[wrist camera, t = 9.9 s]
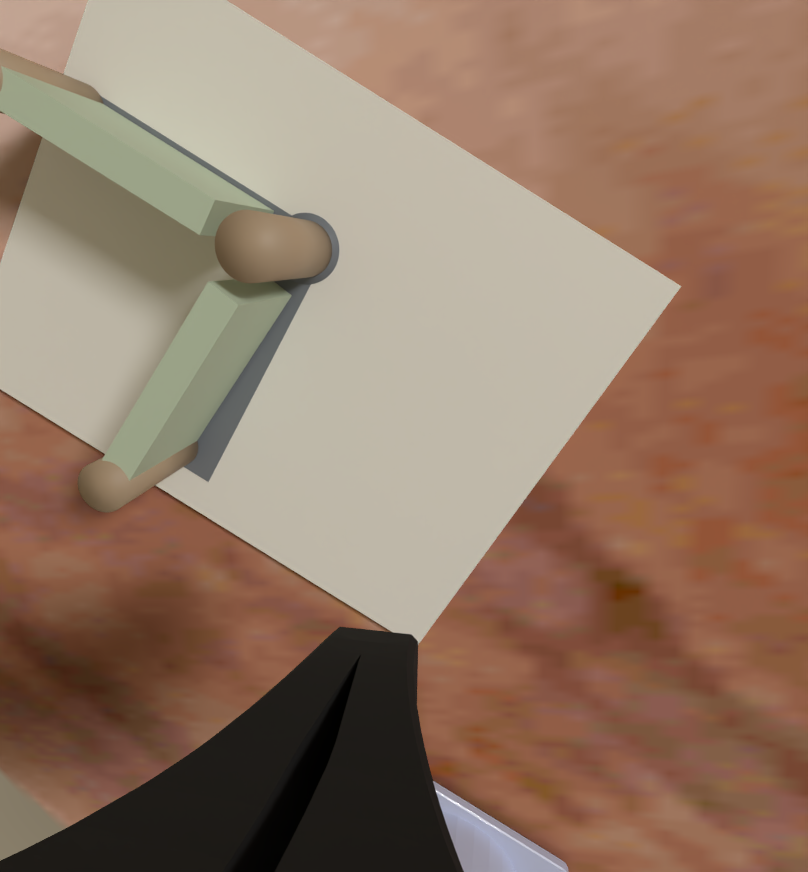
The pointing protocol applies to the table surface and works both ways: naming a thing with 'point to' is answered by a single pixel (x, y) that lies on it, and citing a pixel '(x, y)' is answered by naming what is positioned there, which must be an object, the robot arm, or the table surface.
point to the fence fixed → (162, 175)
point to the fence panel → (184, 391)
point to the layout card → (320, 309)
